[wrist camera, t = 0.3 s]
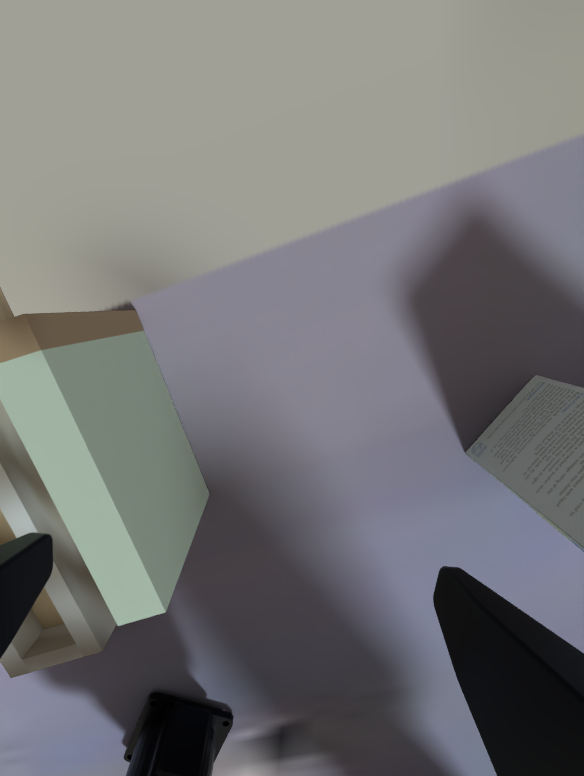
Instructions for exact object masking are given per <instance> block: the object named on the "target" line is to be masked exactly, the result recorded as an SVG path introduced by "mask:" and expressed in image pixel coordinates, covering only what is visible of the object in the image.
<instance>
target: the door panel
mask: <svg viewBox="0 0 584 776" xmlns="http://www.w3.org/2000/svg"><path fill="white" fill-rule="evenodd" d="M0 400H1V402H2V404H3V406H4V408H5V410H6V412H7V413H8V415H9V417H10V419H11V421H12V423H13V425H14V427H15V429H16V431H17V433H18V435H19V437H20V438H21V440H22V442H23V444H24V446H25V448H26V450H27V452H28V454H29V456H30V458H31V460H32V462H33V463H34V465H35V467H36V469H37V471H38V473H39V475H40V477H41V479H42V481H43V483H44V485H45V487H46V489H47V490H48V492H49V494H50V496H51V498H52V500H53V502H54V504H55V506H56V508H57V510H58V512H59V514H60V515H61V517H62V519H63V521H64V523H65V525H66V527H67V529H68V531H69V533H70V535H71V537H72V539H73V541H74V542H75V544H76V546H77V548H78V550H79V552H80V554H81V556H82V558H83V560H84V562H85V564H86V566H87V567H88V569H89V571H90V573H91V575H92V577H93V579H94V581H95V583H96V585H97V587H98V589H99V591H100V593H101V594H102V596H103V598H104V600H105V602H106V604H107V606H108V608H109V610H110V612H111V614H112V616H113V618H114V619H115V621H116V623H117V625H118V626H121V625H124V624H127V623H131V622H134V621H138V620H141V619H145V618H148V617H152V616H155V615H159V614H162V613H166V611H167V608H168V605H169V603H170V600H171V597H172V594H173V592H174V589H175V586H176V584H177V581H178V578H179V576H180V573H181V570H182V568H183V565H184V562H185V559H186V557H187V554H188V551H189V549H190V546H191V543H192V541H193V538H194V535H195V532H196V530H197V527H198V524H199V522H200V519H201V516H202V514H203V511H204V508H205V506H206V503H207V500H208V497H209V495H210V494H209V491H208V489H207V486H206V484H205V481H204V479H203V476H202V474H201V471H200V469H199V466H198V464H197V461H196V459H195V456H194V454H193V451H192V449H191V446H190V444H189V441H188V439H187V436H186V434H185V431H184V429H183V426H182V424H181V421H180V419H179V417H178V414H177V412H176V409H175V407H174V404H173V402H172V399H171V397H170V394H169V392H168V389H167V387H166V384H165V382H164V379H163V377H162V374H161V372H160V369H159V367H158V364H157V362H156V359H155V357H154V354H153V352H152V349H151V347H150V344H149V342H148V339H147V337H146V334H145V332H144V329H143V327H142V324H141V322H140V319H139V317H138V315H137V312H136V310H123V311H94V312H66V313H38V314H22V315H19V316H17V317H13V318H10V319H7V320H4V321H1V322H0Z"/></svg>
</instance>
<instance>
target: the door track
mask: <svg viewBox="0 0 584 776" xmlns="http://www.w3.org/2000/svg"><path fill="white" fill-rule="evenodd" d="M13 317H14V315H13V313H12V311H11V309H10V307H9V305H8V303H7V300H6V298H5V296H4V294H3V293H2V290H1V288H0V322H1V321H4V320H7V319H10V318H13ZM31 532H37V533H48V534H50V535H51V536H52V538H53V570H52V573H51V576H50V578H49V580H48V581H47V583H46V585H45V586H44V588H43V590H42V591H41V593H40V595H39V597H38V598H37V600H36V602H35V603H34V605H33V607H32V608H31V610H30V612H29V613H28V615H27V617H26V618H25V620H24V622H23V624H22V625H21V627H20V629H19V630H18V632H17V634H16V635H15V637H14V639H13V640H12V642H11V643H10V645H9V647H8V648H7V650H6V651H5V653H4V654H3V656H2V657H1V659H0V662H1V663H2V665H3V666H4V668H5V670H6V671H7V673H8V674H9V676H10V677H11V678H13V677H16V676H20V675H23V674H27V673H30V672H34V671H37V670H40V669H44V668H47V667H51V666H54V665H58V664H61V663H65V662H68V661H72V660H75V659H79V658H82V657H86V656H89V655H93V654H96V653H100V652H103V650H104V648H105V646H106V644H107V642H108V640H109V638H110V636H111V634H112V632H113V630H114V628H115V626H116V624H117V623H116V621H115V619H114V618H113V616H112V614H111V612H110V610H109V608H108V606H107V604H106V602H105V600H104V598H103V596H102V594H101V593H100V591H99V589H98V587H97V585H96V583H95V581H94V579H93V577H92V575H91V573H90V571H89V569H88V567H87V566H86V564H85V562H84V560H83V558H82V556H81V554H80V552H79V550H78V548H77V546H76V544H75V542H74V541H73V539H72V537H71V535H70V533H69V531H68V529H67V527H66V525H65V523H64V521H63V519H62V517H61V515H60V514H59V512H58V510H57V508H56V506H55V504H54V502H53V500H52V498H51V496H50V494H49V492H48V490H47V489H46V487H45V485H44V483H43V481H42V479H41V477H40V475H39V473H38V471H37V469H36V467H35V465H34V463H33V462H32V460H31V458H30V456H29V454H28V452H27V450H26V448H25V446H24V444H23V442H22V440H21V438H20V437H19V435H18V433H17V431H16V429H15V427H14V425H13V423H12V421H11V419H10V417H9V415H8V413H7V412H6V410H5V408H4V406H3V404H2V402H1V400H0V545H2V544H4V543H6V542H9V541H11V540H14V539H16V538H18V537H21V536H23V535H25V534H28V533H31Z"/></svg>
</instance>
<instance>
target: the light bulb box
mask: <svg viewBox="0 0 584 776" xmlns="http://www.w3.org/2000/svg"><path fill="white" fill-rule="evenodd" d="M466 454H467V455H468V456H469V457H470V458H471V459H473V460H474V461H475V462H476V463H478V464H479V465H480V466H481V467H482V468H483V469H485V470H486V471H487V472H488V473H489V474H491V475H492V476H493V477H494V478H495V479H497V480H498V481H499V482H500V483H501V484H503V485H504V486H505V487H506V488H507V489H509V490H510V491H511V492H512V493H514V494H515V495H516V496H517V497H518V498H520V499H521V500H522V501H523V502H524V503H526V504H527V505H528V506H529V507H530V508H531V509H533V510H534V511H535V512H536V513H537V514H539V515H540V516H541V517H542V518H543V519H545V520H546V521H547V522H548V523H549V524H551V525H552V526H553V527H554V528H555V529H557V530H558V531H559V532H560V533H562V534H563V535H564V536H565V537H566V538H568V539H569V540H570V541H571V542H572V543H574V544H575V545H576V546H577V547H578V548H580V549H581V550H582V551H583V552H584V388H582V387H579V386H575V385H571V384H567V383H564V382H560V381H556V380H553V379H549V378H545V377H542V376H538V375H536V376H534V377H533V378H532V379H531V380H530V381H529V382H528V383H527V384H526V385H525V386H524V387H523V389H522V390H521V391H520V392H519V393H518V394H517V395H516V396H515V398H514V399H513V400H512V401H511V402H510V403H509V404H508V405H507V406H506V407H505V409H504V410H503V411H502V412H501V413H500V414H499V415H498V416H497V418H496V419H495V420H494V421H493V422H492V423H491V424H490V425H489V426H488V428H487V429H486V430H485V431H484V432H483V433H482V434H481V435H480V437H479V438H478V439H477V440H476V441H475V442H474V443H473V444H472V446H471V447H470V448H469V449H468V450H467V451H466Z"/></svg>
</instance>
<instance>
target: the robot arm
mask: <svg viewBox="0 0 584 776" xmlns="http://www.w3.org/2000/svg"><path fill="white" fill-rule="evenodd" d="M52 570H53V538H52V536H51V535H50V534H48V533H37V532H31V533H28V534H25V535H23V536H21V537H18V538H16V539H14V540H11V541H9V542H6V543H4V544H2V545H0V659H1V657H2V656H3V654H4V653H5V651H6V650H7V648H8V647H9V645H10V643H11V642H12V640H13V639H14V637H15V635H16V634H17V632H18V630H19V629H20V627H21V625H22V624H23V622H24V620H25V618H26V617H27V615H28V613H29V612H30V610H31V608H32V607H33V605H34V603H35V602H36V600H37V598H38V597H39V595H40V593H41V591H42V590H43V588H44V586H45V585H46V583H47V581H48V580H49V578H50V576H51V573H52ZM433 602H434V607H435V611H436V614H437V617H438V620H439V623H440V626H441V630H442V633H443V636H444V639H445V642H446V645H447V649H448V652H449V655H450V658H451V661H452V665H453V668H454V670H455V673H456V676H457V679H458V682H459V684H460V687H461V689H462V692H463V694H464V697H465V699H466V701H467V704H468V706H469V709H470V711H471V714H472V716H473V718H474V721H475V723H476V726H477V728H478V730H479V733H480V735H481V738H482V740H483V743H484V745H485V747H486V750H487V752H488V755H489V757H490V759H491V762H492V764H493V767H494V769H495V772H496V774H497V776H584V653H582V652H581V651H579V650H578V649H576V648H575V647H574V646H572V645H571V644H569V643H568V642H566V641H565V640H563V639H562V638H561V637H559V636H558V635H556V634H555V633H553V632H552V631H550V630H549V629H547V628H546V627H545V626H543V625H542V624H540V623H539V622H537V621H536V620H534V619H533V618H532V617H530V616H529V615H527V614H526V613H524V612H523V611H521V610H520V609H519V608H517V607H516V606H514V605H513V604H511V603H510V602H508V601H507V600H506V599H504V598H503V597H501V596H500V595H498V594H497V593H495V592H494V591H493V590H491V589H490V588H488V587H487V586H485V585H484V584H482V583H481V582H479V581H478V580H477V579H475V578H474V577H472V576H471V575H469V574H468V573H466V572H465V571H464V570H462V569H461V568H458V567H447V566H444V567H442V568H441V569H440V571H439V574H438V578H437V582H436V587H435V591H434V596H433ZM232 724H233V715H232V714H231V713H228V712H225V711H221V710H218V709H214V708H210V707H207V706H203V705H200V704H196V703H193V702H189V701H186V700H182V699H178V698H175V697H171V696H168V695H164V694H161V693H156V692H154V693H151V694H150V695H149V697H148V699H147V701H146V704H145V706H144V709H143V711H142V713H141V716H140V718H139V720H138V723H137V725H136V727H135V730H134V732H133V735H132V737H131V739H130V742H129V744H128V746H127V749H126V751H125V754H124V759H125V760H126V761H128V762H130V765H129V768H128V771H127V774H126V776H212V770H213V763H214V761H215V759H216V757H217V755H218V753H219V751H220V749H221V747H222V745H223V743H224V741H225V739H226V737H227V735H228V733H229V731H230V729H231V727H232Z"/></svg>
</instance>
